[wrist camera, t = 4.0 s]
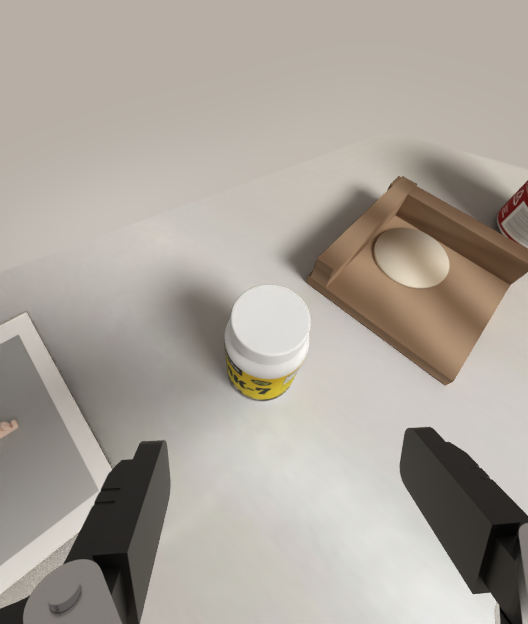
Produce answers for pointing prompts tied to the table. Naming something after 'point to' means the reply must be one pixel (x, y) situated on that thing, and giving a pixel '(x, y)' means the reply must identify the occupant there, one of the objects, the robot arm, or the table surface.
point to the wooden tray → (420, 276)
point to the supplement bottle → (266, 341)
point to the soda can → (515, 217)
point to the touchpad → (40, 455)
